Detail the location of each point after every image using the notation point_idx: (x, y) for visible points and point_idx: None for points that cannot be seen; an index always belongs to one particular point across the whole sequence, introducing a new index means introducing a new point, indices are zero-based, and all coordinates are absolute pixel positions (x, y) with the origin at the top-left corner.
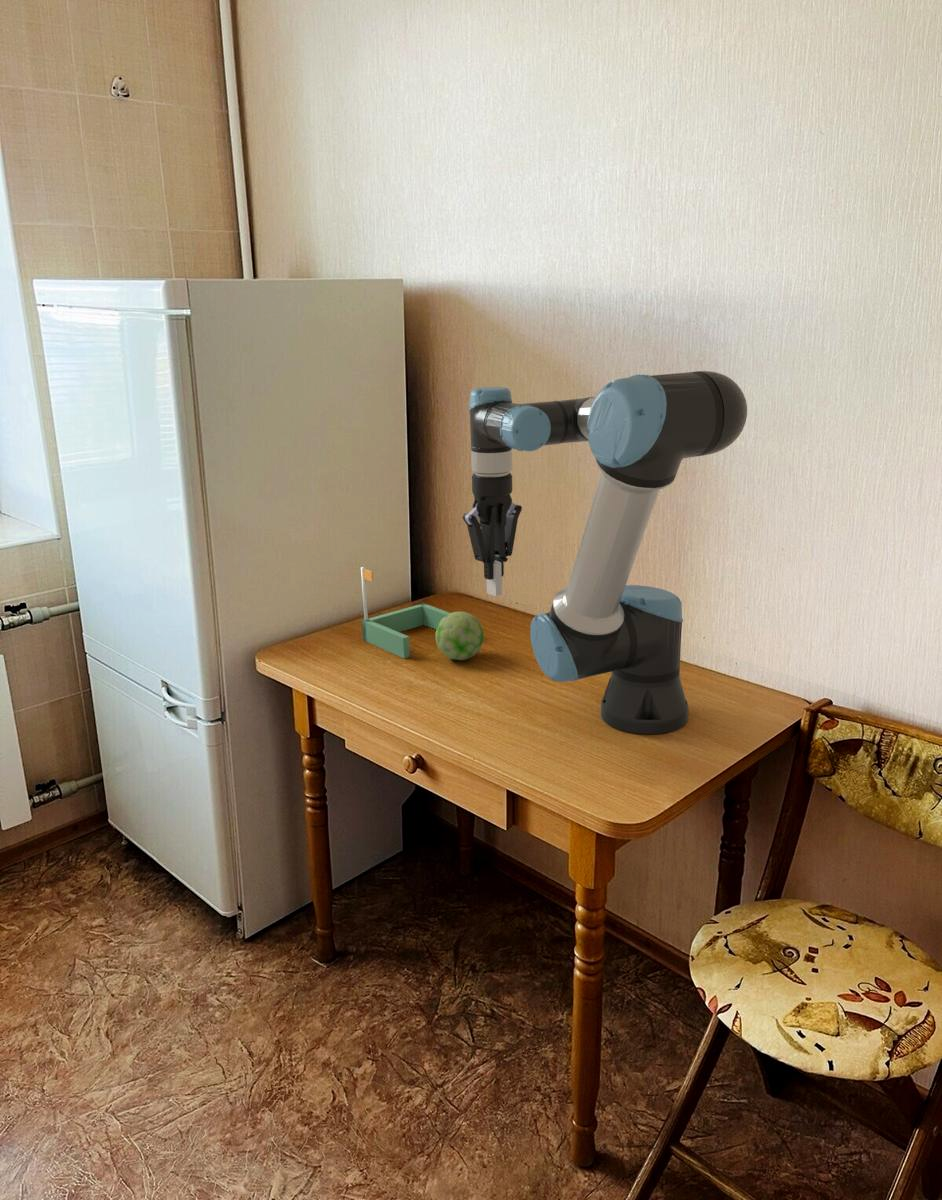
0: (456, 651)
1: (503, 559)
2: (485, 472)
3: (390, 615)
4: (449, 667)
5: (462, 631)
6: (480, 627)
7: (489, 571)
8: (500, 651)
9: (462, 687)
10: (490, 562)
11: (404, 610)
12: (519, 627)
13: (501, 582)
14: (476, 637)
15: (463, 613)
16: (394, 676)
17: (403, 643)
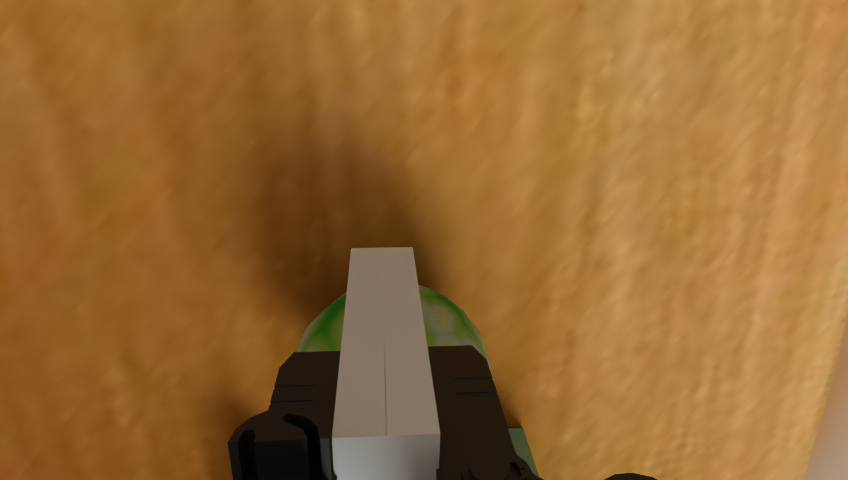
0: (456, 305)
1: (319, 439)
2: None
3: None
4: (469, 289)
5: (440, 340)
6: (330, 343)
7: (486, 401)
8: (234, 289)
9: (562, 121)
10: (525, 461)
11: None
12: (31, 417)
13: (348, 296)
14: None
15: None
16: (640, 340)
17: (534, 466)
